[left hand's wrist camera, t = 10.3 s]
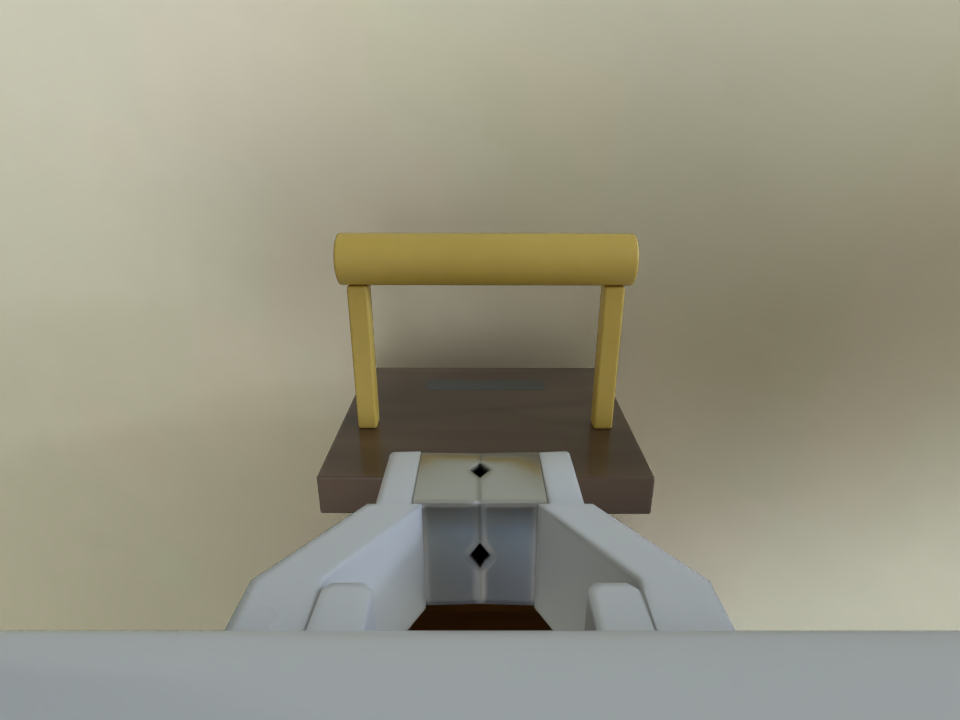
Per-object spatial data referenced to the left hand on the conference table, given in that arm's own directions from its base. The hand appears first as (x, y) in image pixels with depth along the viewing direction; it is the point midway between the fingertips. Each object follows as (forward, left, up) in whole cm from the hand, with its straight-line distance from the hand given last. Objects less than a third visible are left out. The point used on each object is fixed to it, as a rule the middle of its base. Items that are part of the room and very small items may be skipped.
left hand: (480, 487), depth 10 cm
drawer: (+6, 0, -13) cm, 15 cm away
